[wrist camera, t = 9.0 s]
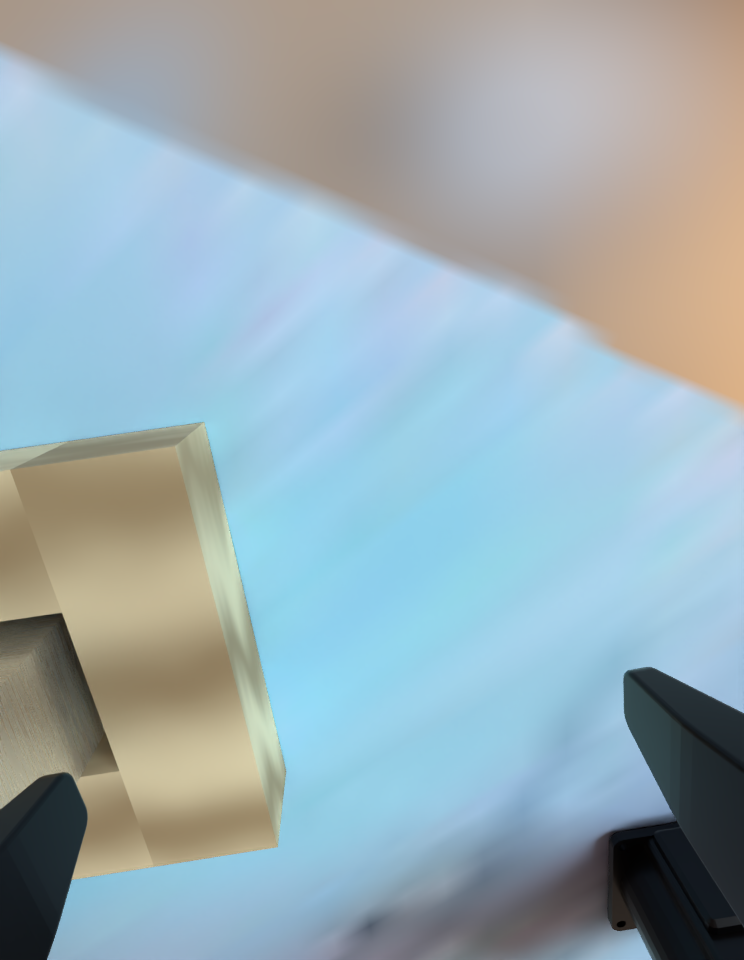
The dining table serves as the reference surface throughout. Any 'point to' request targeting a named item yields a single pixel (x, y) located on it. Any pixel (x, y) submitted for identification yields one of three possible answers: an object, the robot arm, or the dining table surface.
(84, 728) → the tall grey box
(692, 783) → the robot arm
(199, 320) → the dining table surface
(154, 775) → the well block
